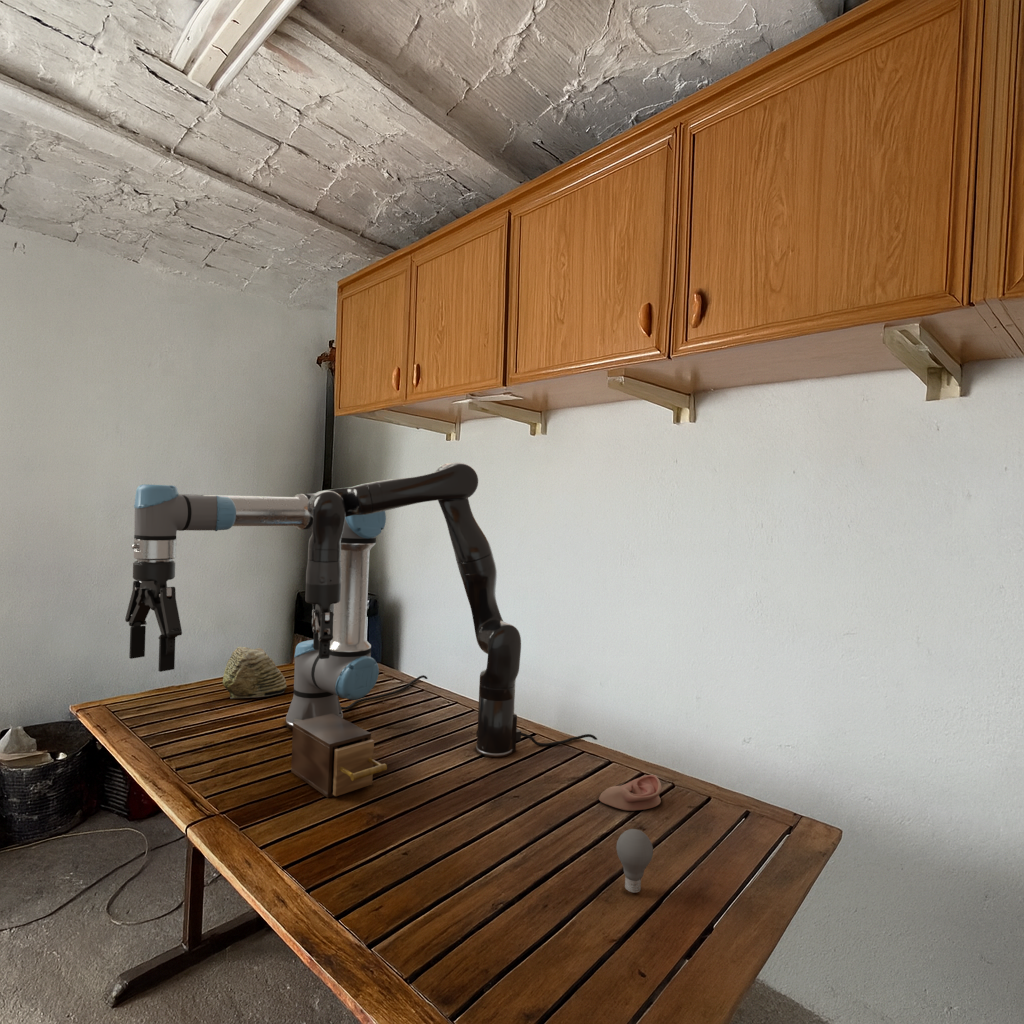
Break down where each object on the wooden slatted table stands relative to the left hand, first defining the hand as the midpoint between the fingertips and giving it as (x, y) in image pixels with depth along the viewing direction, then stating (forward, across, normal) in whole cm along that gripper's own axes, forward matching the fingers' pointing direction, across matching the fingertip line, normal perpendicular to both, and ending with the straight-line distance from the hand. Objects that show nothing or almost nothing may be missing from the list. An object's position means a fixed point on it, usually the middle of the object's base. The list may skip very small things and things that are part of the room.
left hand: (151, 663), depth 129 cm
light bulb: (+28, +90, +39) cm, 102 cm away
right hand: (-1, +18, +28) cm, 33 cm away
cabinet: (+28, +19, +31) cm, 46 cm away
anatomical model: (+28, +75, +68) cm, 105 cm away
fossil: (+28, -46, +50) cm, 74 cm away
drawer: (+27, +25, +30) cm, 47 cm away
